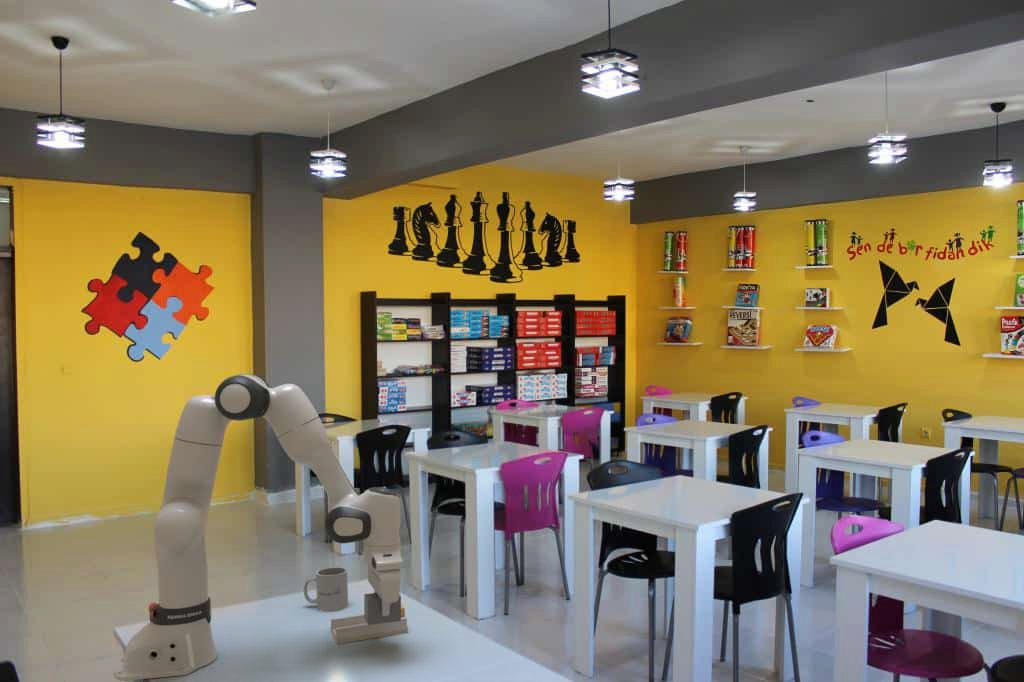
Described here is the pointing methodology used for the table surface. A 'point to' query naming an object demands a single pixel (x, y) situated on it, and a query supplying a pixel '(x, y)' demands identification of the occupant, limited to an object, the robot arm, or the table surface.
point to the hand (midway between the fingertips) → (382, 610)
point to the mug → (330, 589)
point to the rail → (365, 628)
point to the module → (374, 610)
